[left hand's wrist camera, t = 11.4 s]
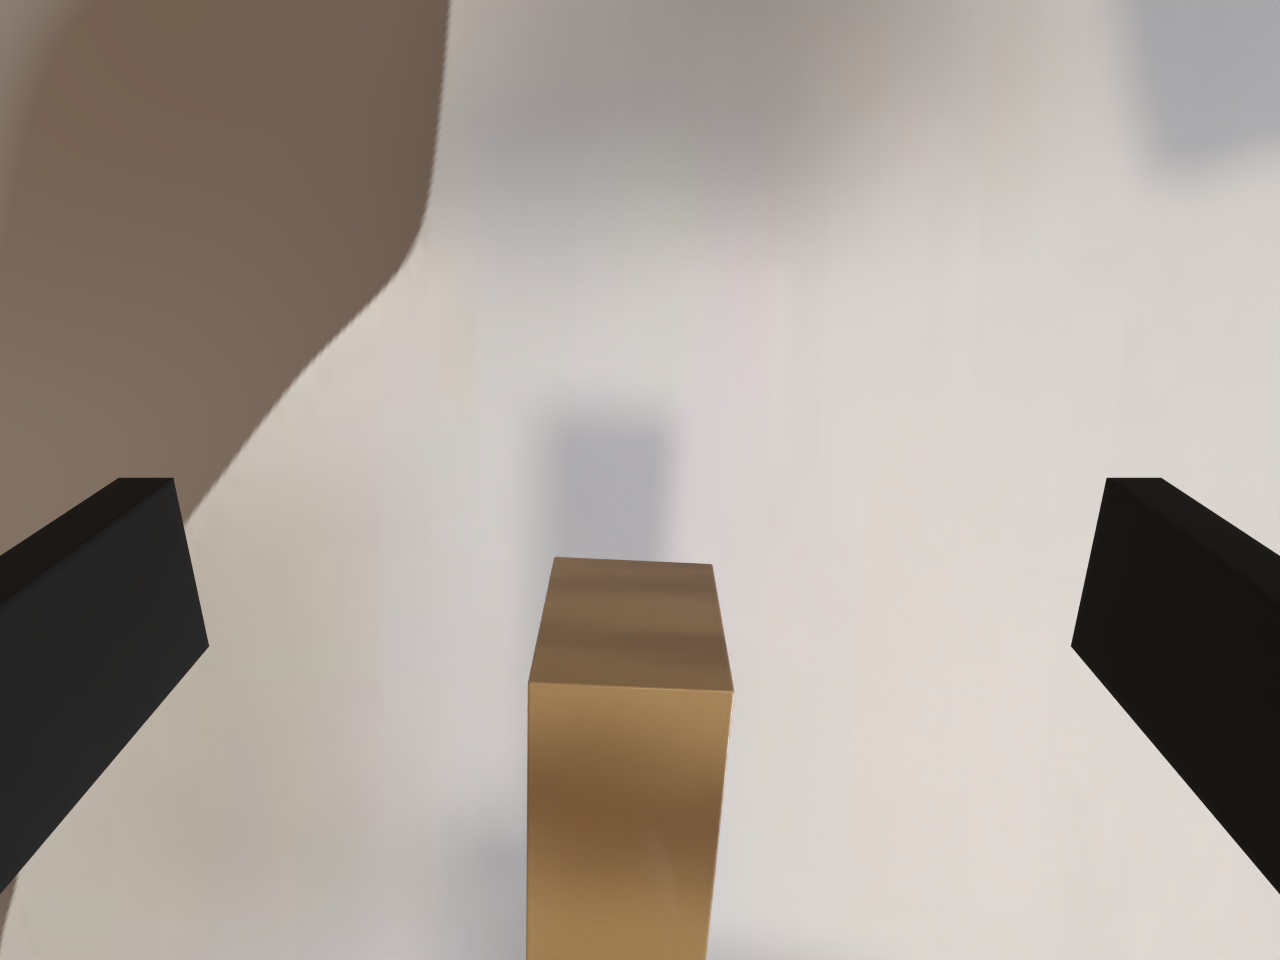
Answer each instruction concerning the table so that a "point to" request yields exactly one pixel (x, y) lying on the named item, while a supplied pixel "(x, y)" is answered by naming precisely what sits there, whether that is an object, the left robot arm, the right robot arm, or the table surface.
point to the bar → (626, 761)
